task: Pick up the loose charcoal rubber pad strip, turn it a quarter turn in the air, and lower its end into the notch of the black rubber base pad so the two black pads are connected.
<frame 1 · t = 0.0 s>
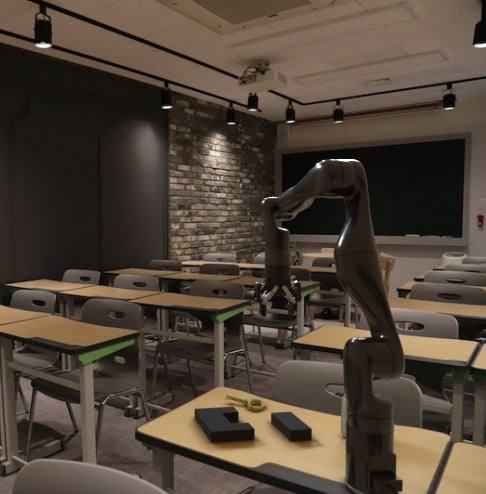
hand: (277, 315, 149), 29 cm above the table, tool pointing down, fingers open, 8 cm apart
photo printer: (356, 434, 133), on the table
strip pad: (290, 430, 135), on the table
base pad: (223, 428, 137), on the table
key: (245, 405, 155), on the table
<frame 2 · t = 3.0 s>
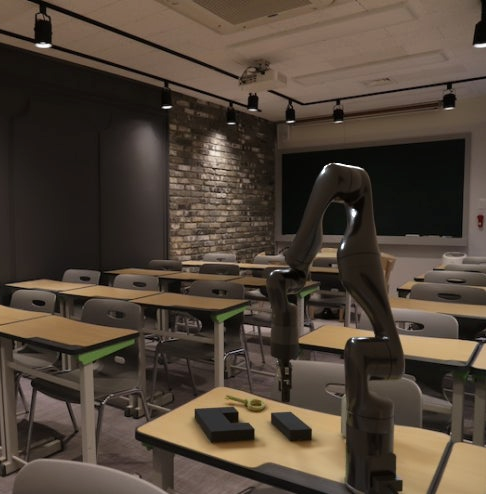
hand: (283, 396, 138), 9 cm above the table, tool pointing down, fingers open, 8 cm apart
nothing on the table moved.
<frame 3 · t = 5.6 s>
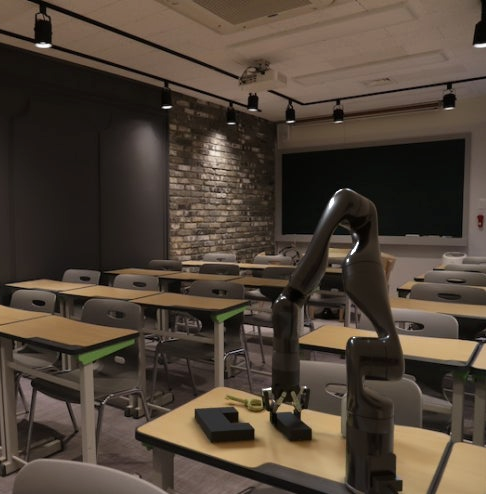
hand: (285, 423, 139), 1 cm above the table, tool pointing down, fingers closed on strip pad, 6 cm apart
strip pad: (290, 431, 135), on the table, touching gripper
everything else where it was.
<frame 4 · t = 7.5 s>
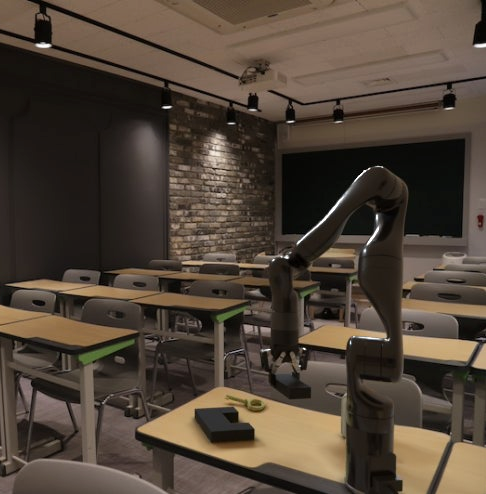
hand: (283, 385, 138), 12 cm above the table, tool pointing down, fingers closed on strip pad, 6 cm apart
strip pad: (289, 391, 135), point 11 cm above the table, touching gripper
everything else where it was.
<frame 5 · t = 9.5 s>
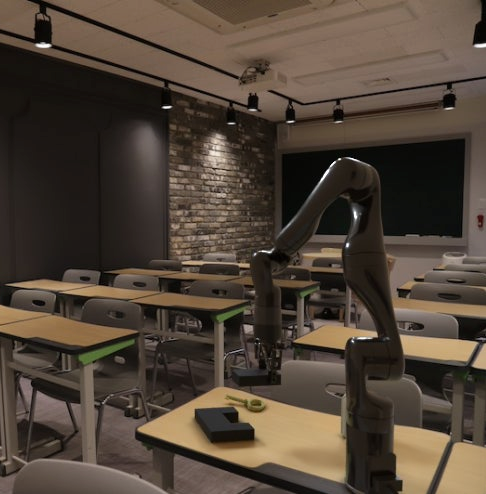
hand: (267, 379, 138), 13 cm above the table, tool pointing down, fingers closed on strip pad, 6 cm apart
strip pad: (256, 382, 138), point 13 cm above the table, touching gripper
everything else where it was.
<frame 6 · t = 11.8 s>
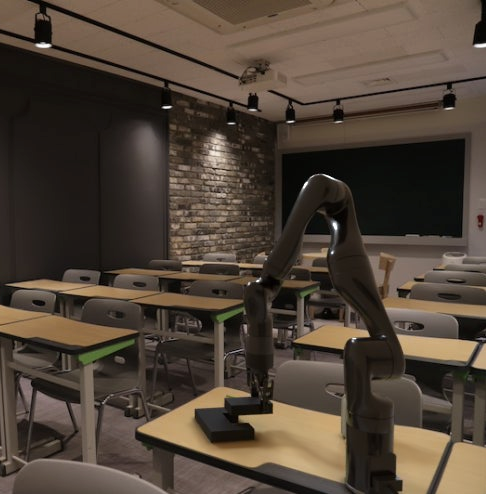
hand: (259, 408, 138), 5 cm above the table, tool pointing down, fingers closed on strip pad, 6 cm apart
strip pad: (248, 410, 138), point 5 cm above the table, touching gripper
everything else where it was.
when the fingers open (1 cm above the table, at t = 13.7 s): strip pad stays where it is, on the table.
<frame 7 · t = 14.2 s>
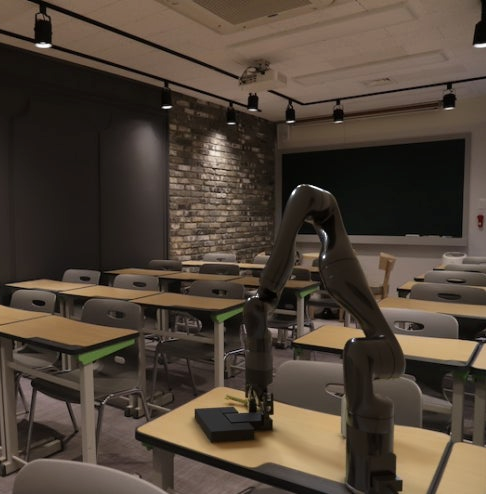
hand: (258, 421, 138), 2 cm above the table, tool pointing down, fingers open, 8 cm apart
strip pad: (248, 427, 138), on the table
everything else where it was.
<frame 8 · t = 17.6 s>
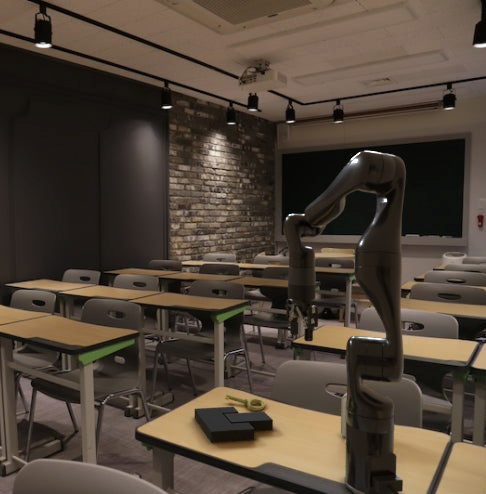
hand: (301, 337, 143), 24 cm above the table, tool pointing down, fingers open, 8 cm apart
nothing on the table moved.
at the end: strip pad 0.2 cm from the target spot, on the table; strip pad tilted 0°; the gripper is holding nothing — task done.
